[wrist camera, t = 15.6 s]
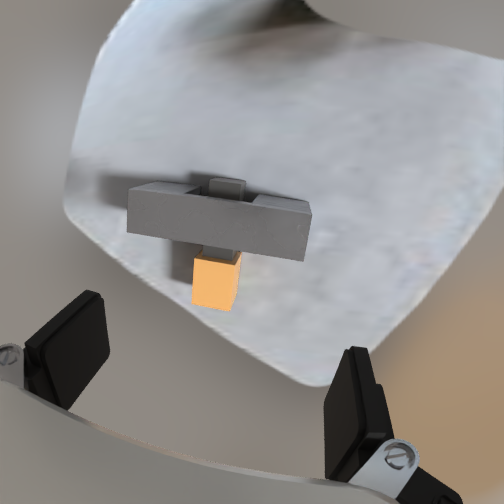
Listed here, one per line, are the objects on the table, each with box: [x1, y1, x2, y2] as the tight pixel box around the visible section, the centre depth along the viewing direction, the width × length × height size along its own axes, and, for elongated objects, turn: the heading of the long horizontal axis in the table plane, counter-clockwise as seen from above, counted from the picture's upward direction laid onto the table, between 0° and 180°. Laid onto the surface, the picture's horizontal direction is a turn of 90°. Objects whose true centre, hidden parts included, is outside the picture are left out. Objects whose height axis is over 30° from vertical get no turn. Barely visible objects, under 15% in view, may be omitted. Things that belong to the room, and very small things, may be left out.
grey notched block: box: [127, 181, 312, 261], centre depth 29 cm, size 4×16×6 cm, turn 83°
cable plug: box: [192, 177, 246, 311], centre depth 32 cm, size 12×4×4 cm, turn 173°
